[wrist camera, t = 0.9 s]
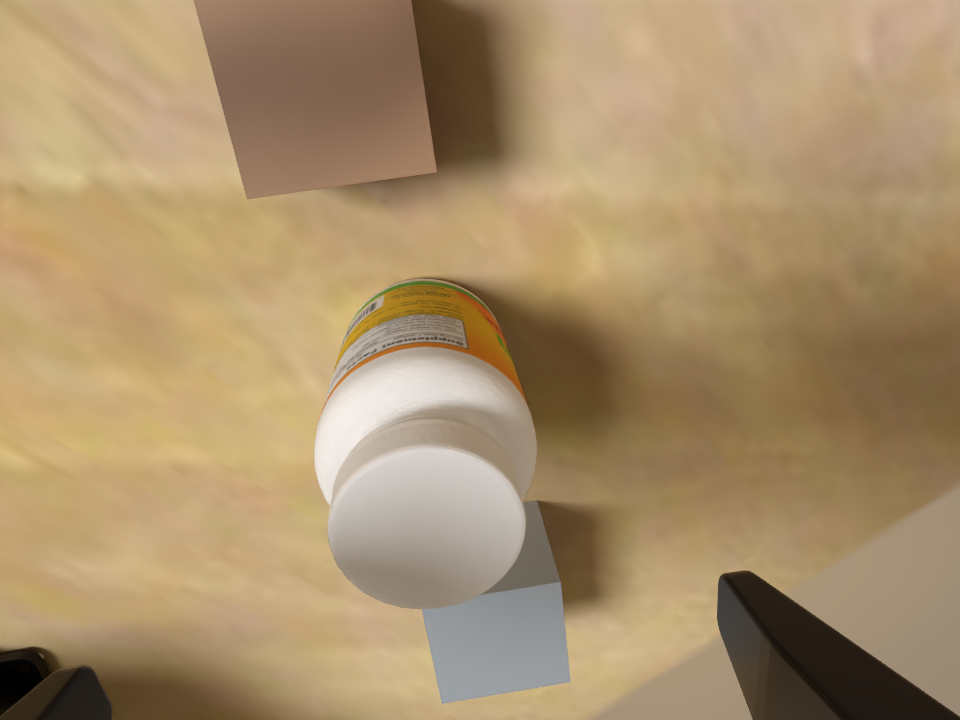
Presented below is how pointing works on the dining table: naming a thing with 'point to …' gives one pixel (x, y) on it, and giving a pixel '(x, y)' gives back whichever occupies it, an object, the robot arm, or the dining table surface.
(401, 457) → the supplement bottle
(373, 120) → the pinkish brown block
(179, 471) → the dining table surface
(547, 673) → the slate block
